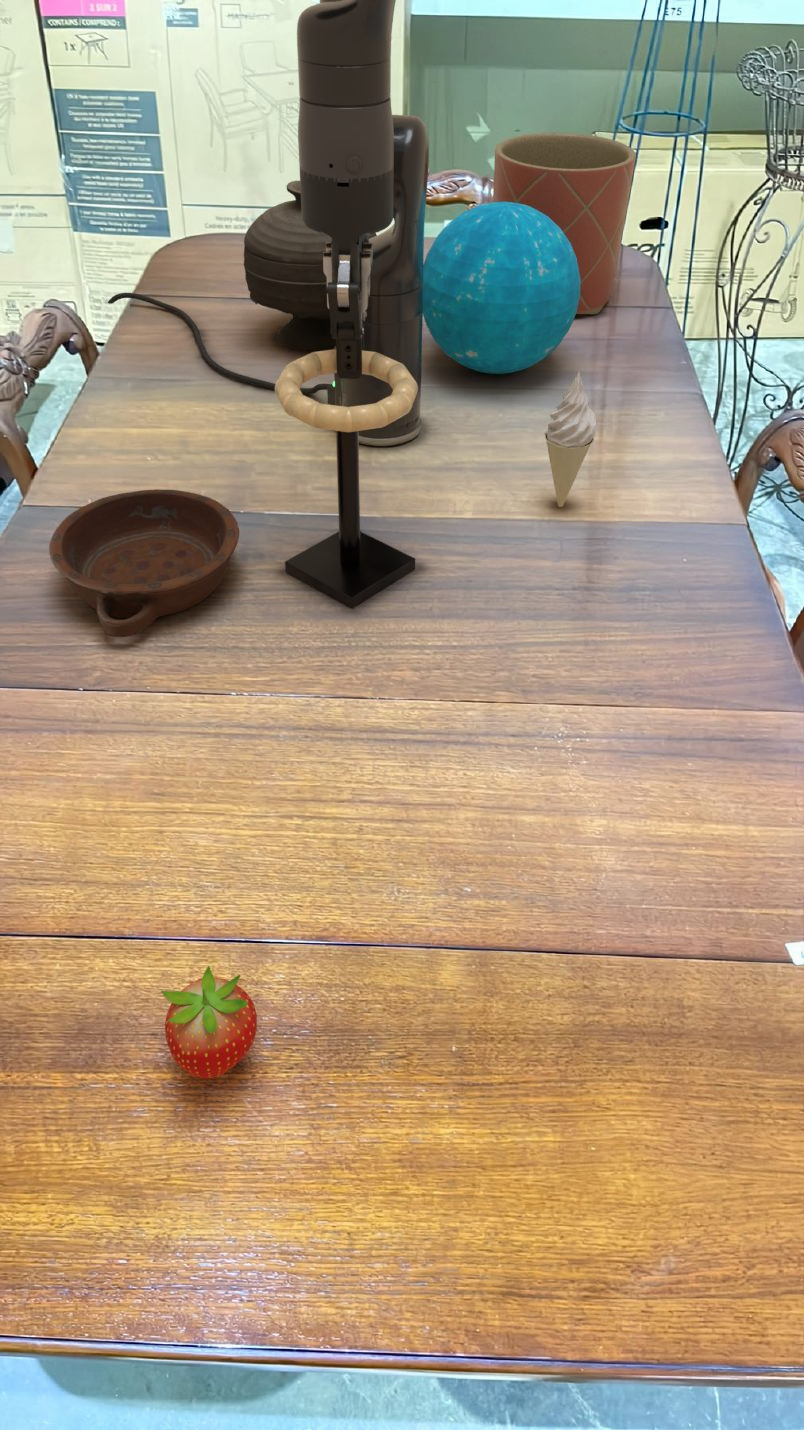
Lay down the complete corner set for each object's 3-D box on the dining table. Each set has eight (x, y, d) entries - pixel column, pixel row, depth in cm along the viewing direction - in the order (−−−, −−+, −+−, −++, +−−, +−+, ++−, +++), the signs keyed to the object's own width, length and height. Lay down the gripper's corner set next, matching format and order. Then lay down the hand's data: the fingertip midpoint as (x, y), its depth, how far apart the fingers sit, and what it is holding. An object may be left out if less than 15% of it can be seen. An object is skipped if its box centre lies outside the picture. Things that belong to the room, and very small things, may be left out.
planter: (623, 324, 153) (646, 171, 139) (488, 321, 153) (498, 169, 140) (606, 275, 167) (625, 133, 154) (483, 274, 167) (491, 131, 154)
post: (285, 571, 105) (274, 427, 95) (349, 535, 110) (345, 394, 100) (352, 608, 101) (348, 461, 91) (415, 568, 106) (418, 425, 96)
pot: (410, 323, 150) (401, 170, 136) (337, 379, 140) (319, 221, 126) (306, 299, 158) (288, 152, 143) (230, 351, 147) (202, 199, 133)
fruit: (197, 1017, 68) (181, 939, 62) (274, 1038, 67) (264, 961, 61) (158, 1092, 64) (138, 1016, 59) (239, 1117, 63) (226, 1041, 58)
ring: (248, 399, 93) (246, 378, 92) (343, 352, 100) (343, 332, 98) (349, 451, 88) (349, 429, 86) (443, 399, 94) (445, 377, 93)
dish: (254, 519, 112) (250, 476, 109) (229, 650, 96) (223, 604, 92) (86, 518, 112) (77, 474, 109) (32, 648, 96) (19, 602, 92)
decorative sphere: (593, 392, 136) (616, 226, 123) (441, 408, 132) (447, 238, 119) (540, 331, 150) (555, 176, 137) (401, 343, 147) (403, 185, 133)
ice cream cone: (582, 520, 113) (602, 384, 103) (534, 515, 114) (548, 379, 104) (586, 497, 116) (605, 362, 107) (539, 491, 117) (553, 358, 107)
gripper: (308, 137, 91) (316, 338, 103) (289, 185, 81) (301, 403, 92) (397, 139, 91) (395, 340, 102) (389, 187, 80) (388, 405, 92)
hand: (350, 369), depth 97 cm, fingers closed on ring, 2 cm apart
